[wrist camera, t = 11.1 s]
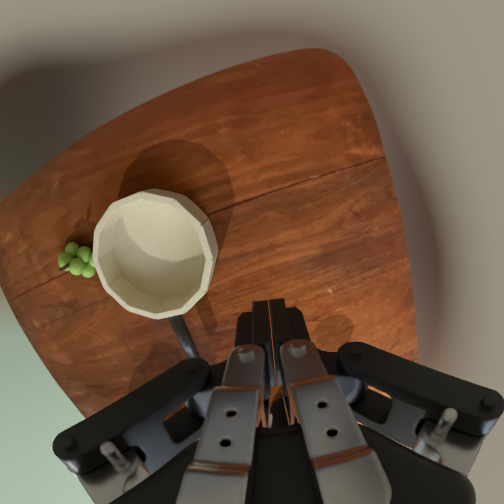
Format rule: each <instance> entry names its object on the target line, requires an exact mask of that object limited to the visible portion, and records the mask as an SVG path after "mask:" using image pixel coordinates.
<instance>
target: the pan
mask: <svg viewBox="0 0 504 504" xmlns="http://www.w3.org/2000/svg"><path fill="white" fill-rule="evenodd" d="M217 254H218V245H217V242H216V237H215V233H214V230H213V228H212V225H211V223H210V220H209V218H208V216H207V215H206V214H205V213H204V212H203V211H202V210H201V209H200V208H199V207H198V206H197V205H196V204H195V203H194V202H192V201H191V200H190V199H189V198H188V197H186V196H184V195H183V194H179V193H175V192H171V191H166V190H160V189H149V190H145V191H140V192H138V193H135V194H133V195H130V196H128V197H125V198H123V199H120V200H118V201H115V202H113V203H112V204H111V205H110V206H109V208H108V209H107V211H106V212H105V214H104V215H103V217H102V218H101V220H100V221H99V223H98V224H97V226H96V227H95V230H94V240H93V257H92V259H93V263H94V265H95V268H96V270H97V273H98V275H99V278H100V280H101V283H102V285H103V287H104V288H106V289H105V290H106V291H107V292H108V293H109V294H110V295H111V296H112V297H113V298H114V299H115V300H116V301H117V302H118V303H120V304H121V305H122V306H123V307H124V308H125V309H126V310H128V311H130V312H133V313H137V314H140V315H143V316H146V317H150V318H153V319H156V318H157V319H161V318H166V317H168V318H169V320H170V322H171V325H172V327H173V329H174V331H175V333H176V335H177V337H178V340H179V342H180V344H181V346H182V348H183V350H184V352H185V354H186V356H187V358H201V357H200V355H199V352H198V350H197V348H196V346H195V344H194V342H193V339H192V337H191V335H190V333H189V331H188V328H187V326H186V324H185V322H184V319H183V317H182V315H181V314H184V313H186V312H187V311H188V310H189V309H190V308H191V307H192V306H193V305H194V304H195V303H196V302H197V301H198V300H199V299H200V298H201V297H202V296H203V295H204V294H205V293H206V292H207V290H208V287H209V285H210V282H211V279H212V276H213V272H214V267H215V263H216V258H217Z"/></svg>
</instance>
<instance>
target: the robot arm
mask: <svg viewBox="0 0 504 504" xmlns="http://www.w3.org/2000/svg"><path fill="white" fill-rule="evenodd" d="M269 306H270V316H271V326H272V336H273V346H274V357H275V367H276V378H277V386H279V385H282V389H283V400H284V405H285V409H286V414H287V418H288V423H289V426H286V427H283V428H269V419H270V395H271V386H276V385H275V373H274V361H273V350H272V339H271V329H270V319H269V309H268V300H264V301H254V302H253V303H252V312H244V313H242V314H241V315H240V316H239V317H238V319H237V328H236V338H235V347H234V349H232V350H231V351H230V353H229V355H228V359H227V360H225V361H224V362H221V363H218V364H214V365H210V366H209V364H208V362H207V361H205V360H204V359H201V358H188V359H185V360H182V361H181V362H179V363H177V364H176V365H174V366H173V367H171V368H170V369H168V370H166V371H165V372H163V373H162V374H160V375H159V376H157V377H155V378H154V379H152V380H151V381H149V382H147V383H146V384H144V385H143V386H141V387H139V388H138V389H136V390H134V391H133V392H131V393H129V394H128V395H126V396H124V397H123V398H121V399H119V400H118V401H116V402H114V403H113V404H111V405H109V406H107V407H106V408H104V409H102V410H101V411H99V412H97V413H95V414H93V415H92V416H90V417H88V418H86V419H85V420H83V421H81V422H79V423H77V424H76V425H74V426H72V427H70V428H68V429H66V430H64V431H63V432H61V433H60V434H58V435H57V436H56V438H55V439H54V441H53V451H54V454H55V455H56V456H57V457H58V458H59V459H60V460H61V461H62V462H63V463H64V464H65V465H66V466H67V468H68V469H69V470H70V471H71V472H72V473H73V474H74V475H75V476H76V477H77V478H78V479H79V480H80V482H81V484H82V485H83V487H84V488H85V490H86V491H87V493H88V494H89V496H90V497H91V499H92V500H93V502H94V503H95V504H475V503H476V495H475V490H474V487H473V485H472V483H471V482H470V480H469V479H468V478H467V476H468V474H469V472H470V470H471V468H472V466H473V463H474V461H475V459H476V457H477V455H478V453H479V450H480V448H481V445H482V443H483V440H484V439H485V438H486V436H487V435H488V434H489V432H490V431H491V429H492V428H493V427H494V425H495V424H496V422H497V421H498V419H499V418H500V416H501V414H502V413H503V411H504V399H503V397H502V396H501V395H500V394H499V393H498V392H497V391H495V390H492V389H489V388H486V387H483V386H480V385H476V384H473V383H471V382H468V381H465V380H462V379H459V378H456V377H453V376H450V375H447V374H445V373H442V372H439V371H436V370H434V369H431V368H428V367H426V366H423V365H420V364H417V363H415V362H412V361H409V360H407V359H404V358H402V357H399V356H396V355H394V354H391V353H389V352H386V351H384V350H381V349H378V348H376V347H373V346H371V345H368V344H366V343H363V342H349V343H346V344H344V345H342V346H341V347H340V348H339V349H338V352H325V351H321V350H319V349H317V348H316V346H315V344H314V343H313V342H311V340H310V337H309V334H308V330H307V327H306V324H305V321H304V317H303V314H302V312H301V311H300V310H299V309H298V308H296V307H291V308H286V306H285V302H284V298H282V299H273V300H269ZM368 385H370V386H372V387H374V388H376V389H378V390H381V391H383V392H385V393H387V394H388V395H389V396H390V397H391V398H392V399H390V398H388V397H386V396H384V395H381V394H379V393H377V392H375V391H373V390H371V389H369V388H368ZM184 402H185V404H186V406H185V407H184V408H182V409H181V410H180V411H178V412H177V413H175V414H174V415H173V416H171V417H170V418H168V419H167V420H165V421H164V419H165V417H166V416H167V415H168V414H169V413H170V412H172V411H173V410H175V409H176V408H178V407H179V406H180V405H182V404H183V403H184ZM357 421H358V422H360V423H362V424H364V425H366V426H364V425H361V424H358V423H357ZM382 434H383V435H382ZM384 435H385V436H384ZM386 436H387V437H386ZM388 437H389V438H388ZM198 438H199V440H197V439H198ZM390 438H391V439H390ZM392 439H393V440H395V441H397V442H399V443H401V444H403V445H406V446H408V447H410V448H412V449H413V450H411V449H409V448H407V447H405V446H403V445H401V444H399V443H397V442H395V441H393V440H392ZM196 440H197V441H196ZM161 466H162V467H161ZM158 468H159V469H158ZM157 469H158V470H157ZM154 471H155V472H154ZM153 472H154V473H153ZM151 473H152V474H151ZM150 474H151V475H150Z"/></svg>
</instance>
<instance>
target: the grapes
mask: <svg viewBox="0 0 504 504" xmlns="http://www.w3.org/2000/svg"><path fill="white" fill-rule="evenodd" d="M76 257H77V258H76ZM92 257H93V253H92V251H91V249H90V248H89V247H87V246H82V247H79V245H78V244H77V243H75V242H70V243H68V244H67V246H66V248H65V252H62V253H61V254H60V255H59V258H58V261H59V266H60V269H59V272H62V271H64V270H65V271H67V270H70V272H71V273H72V274H74V275H79V274H81V273H82V275H83V276H85V277H92V276H93V275H94V274H95V271H96V268H95V265H94V263H93V259H92Z"/></svg>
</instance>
